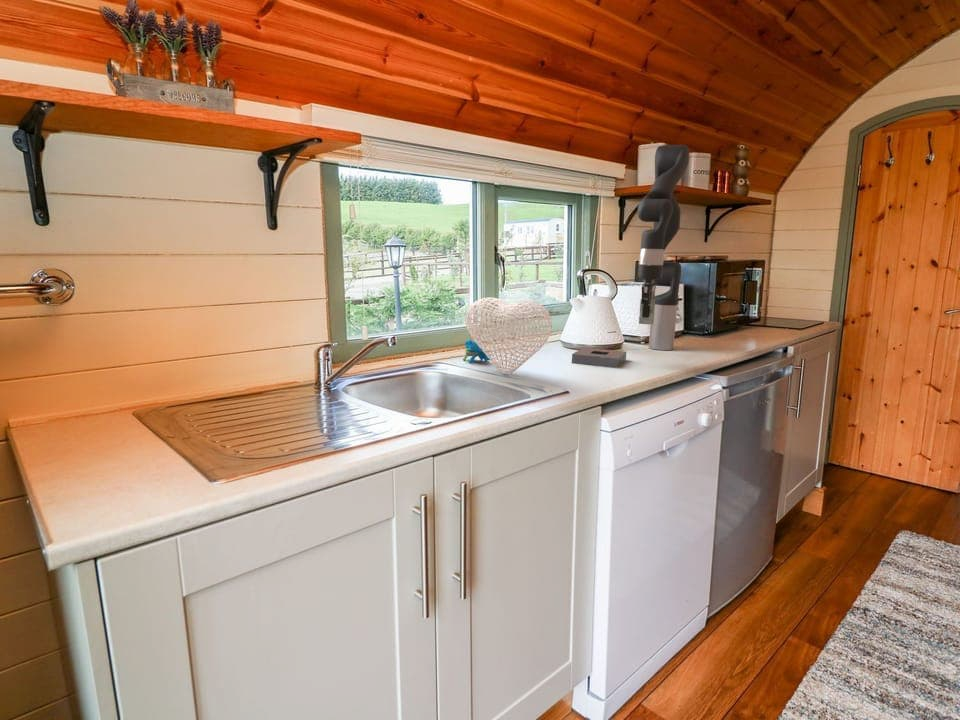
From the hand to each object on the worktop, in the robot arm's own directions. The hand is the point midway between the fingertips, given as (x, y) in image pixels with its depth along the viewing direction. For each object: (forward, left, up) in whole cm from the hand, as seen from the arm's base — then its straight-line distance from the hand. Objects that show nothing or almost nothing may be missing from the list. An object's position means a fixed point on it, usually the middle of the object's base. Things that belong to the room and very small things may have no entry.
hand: (646, 316), depth 190 cm
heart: (+37, -34, -16) cm, 53 cm away
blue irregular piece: (+25, -49, -17) cm, 57 cm away
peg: (0, 0, -2) cm, 2 cm away
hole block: (+2, -14, -16) cm, 21 cm away
